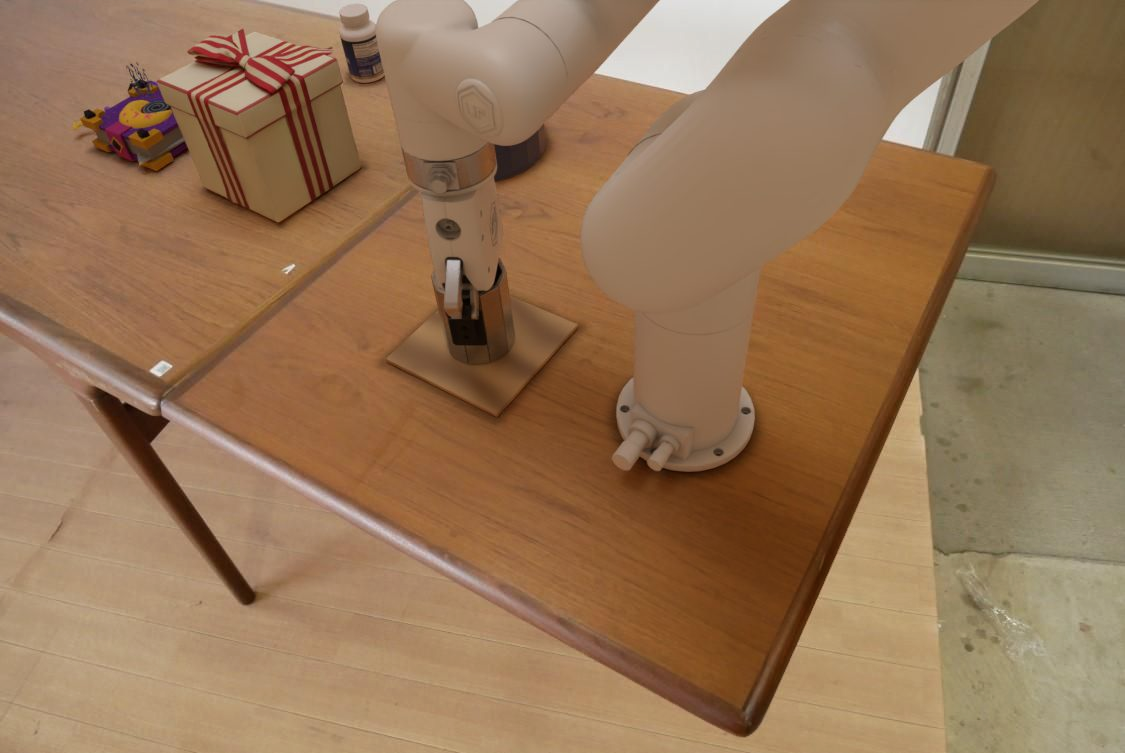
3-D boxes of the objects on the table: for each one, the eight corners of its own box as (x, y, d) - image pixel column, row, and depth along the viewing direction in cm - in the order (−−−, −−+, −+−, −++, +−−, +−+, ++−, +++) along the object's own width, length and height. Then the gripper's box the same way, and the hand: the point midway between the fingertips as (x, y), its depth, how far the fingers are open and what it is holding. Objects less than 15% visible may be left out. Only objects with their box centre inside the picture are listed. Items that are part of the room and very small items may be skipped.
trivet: (497, 417, 79) (496, 414, 79) (386, 362, 85) (385, 358, 84) (578, 327, 87) (577, 324, 86) (471, 282, 92) (470, 278, 92)
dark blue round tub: (496, 197, 103) (490, 151, 98) (397, 160, 109) (386, 115, 104) (569, 133, 111) (567, 88, 106) (473, 103, 118) (466, 59, 113)
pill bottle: (348, 70, 126) (331, 5, 119) (383, 62, 127) (369, -2, 120) (353, 86, 123) (336, 21, 116) (389, 79, 124) (375, 13, 116)
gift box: (384, 151, 111) (353, 23, 98) (287, 230, 100) (239, 98, 88) (289, 121, 117) (248, -3, 104) (189, 192, 107) (130, 64, 94)
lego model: (148, 94, 125) (110, 12, 116) (269, 135, 115) (238, 50, 106) (64, 143, 117) (17, 59, 107) (187, 192, 107) (147, 104, 98)
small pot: (488, 375, 82) (476, 308, 76) (432, 348, 85) (416, 281, 78) (528, 332, 86) (520, 265, 79) (473, 308, 89) (461, 241, 82)
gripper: (481, 220, 63) (506, 373, 76) (506, 100, 75) (524, 250, 87) (383, 220, 64) (424, 372, 76) (423, 101, 75) (453, 250, 88)
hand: (477, 307), depth 82 cm, fingers open, 9 cm apart
